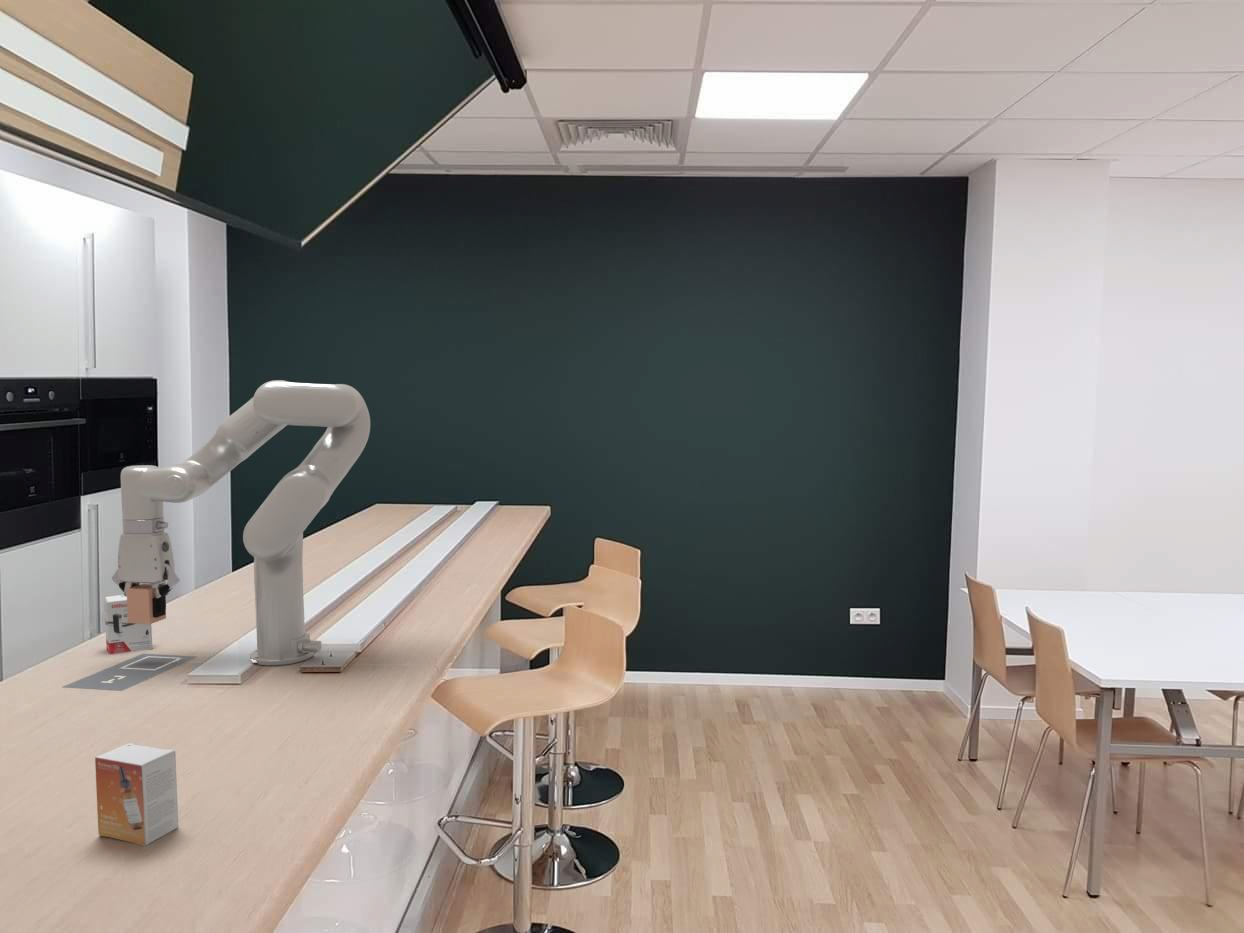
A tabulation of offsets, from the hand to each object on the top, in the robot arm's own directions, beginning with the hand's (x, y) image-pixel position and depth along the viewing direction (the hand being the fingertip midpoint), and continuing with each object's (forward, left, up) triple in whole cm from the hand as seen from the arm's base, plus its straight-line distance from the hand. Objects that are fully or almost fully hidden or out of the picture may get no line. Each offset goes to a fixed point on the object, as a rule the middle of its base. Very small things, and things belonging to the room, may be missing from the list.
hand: (146, 614), depth 201 cm
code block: (0, 0, -1) cm, 1 cm away
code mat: (0, +5, -10) cm, 12 cm away
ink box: (+12, -9, -11) cm, 18 cm away
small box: (-49, +67, -11) cm, 83 cm away
